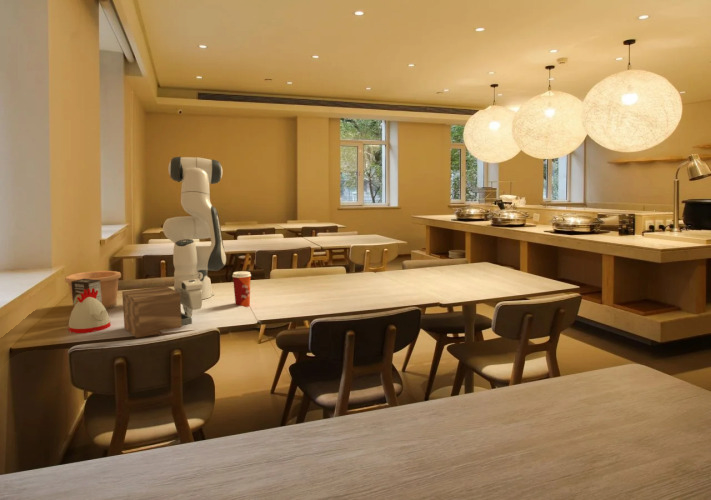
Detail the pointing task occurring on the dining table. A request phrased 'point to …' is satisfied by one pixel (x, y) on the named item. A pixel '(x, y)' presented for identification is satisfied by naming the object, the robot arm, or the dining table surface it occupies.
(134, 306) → the wood grain block
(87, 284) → the coffee box
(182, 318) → the tray
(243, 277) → the coffee cup
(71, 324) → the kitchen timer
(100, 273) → the pottery
